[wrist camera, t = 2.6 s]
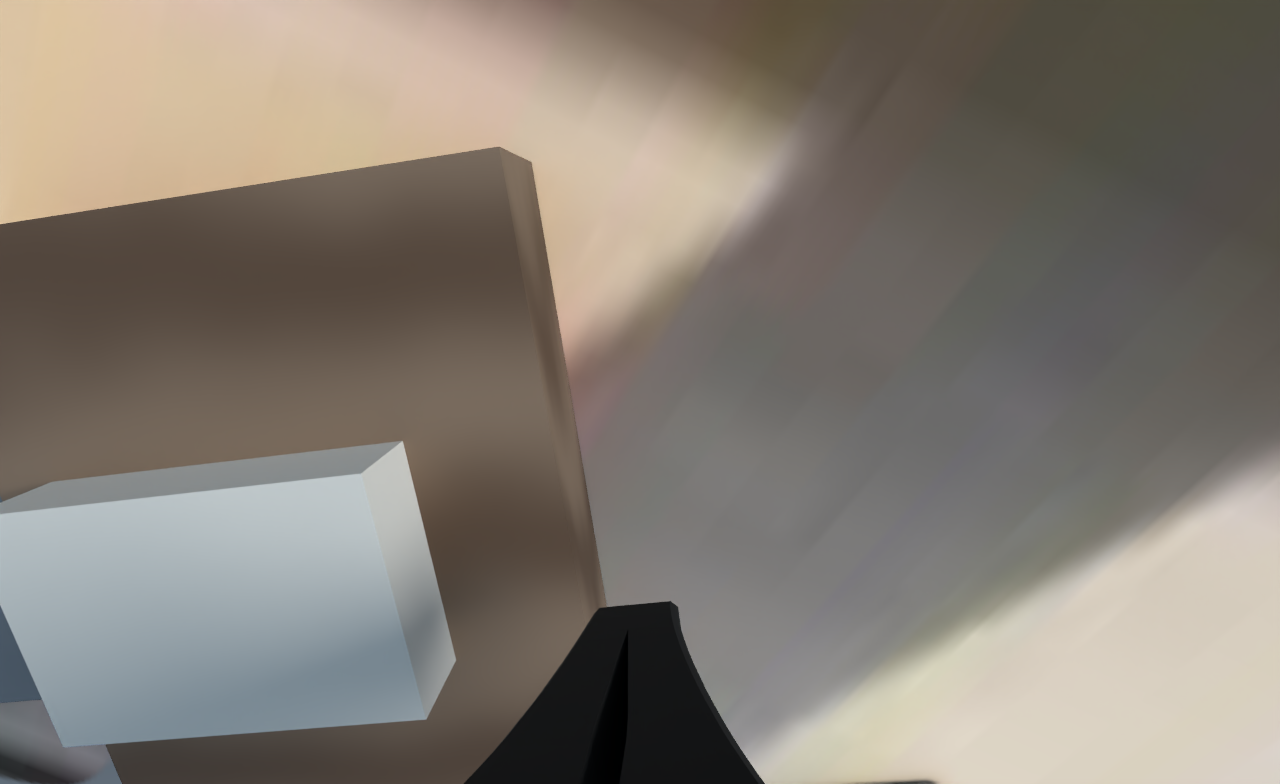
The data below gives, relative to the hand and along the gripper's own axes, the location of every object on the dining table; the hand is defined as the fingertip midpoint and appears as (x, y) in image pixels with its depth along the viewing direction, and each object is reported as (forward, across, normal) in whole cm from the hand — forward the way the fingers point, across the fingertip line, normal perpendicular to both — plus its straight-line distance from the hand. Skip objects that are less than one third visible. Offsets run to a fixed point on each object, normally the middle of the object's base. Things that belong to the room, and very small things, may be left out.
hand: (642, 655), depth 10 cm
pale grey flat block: (+4, +10, 0) cm, 11 cm away
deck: (+8, +9, 0) cm, 12 cm away
